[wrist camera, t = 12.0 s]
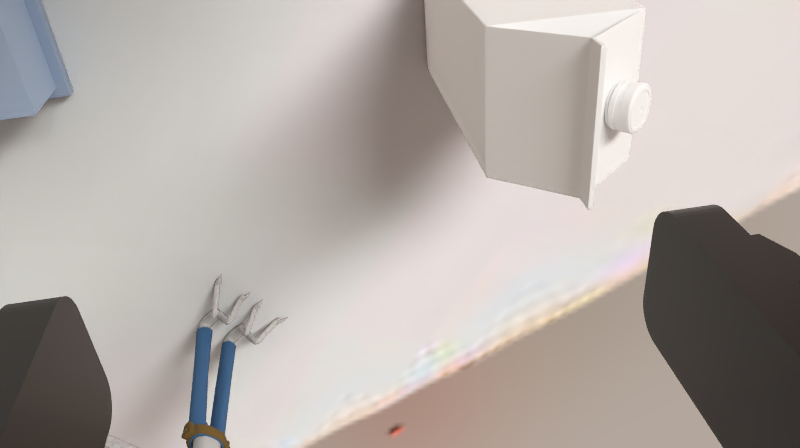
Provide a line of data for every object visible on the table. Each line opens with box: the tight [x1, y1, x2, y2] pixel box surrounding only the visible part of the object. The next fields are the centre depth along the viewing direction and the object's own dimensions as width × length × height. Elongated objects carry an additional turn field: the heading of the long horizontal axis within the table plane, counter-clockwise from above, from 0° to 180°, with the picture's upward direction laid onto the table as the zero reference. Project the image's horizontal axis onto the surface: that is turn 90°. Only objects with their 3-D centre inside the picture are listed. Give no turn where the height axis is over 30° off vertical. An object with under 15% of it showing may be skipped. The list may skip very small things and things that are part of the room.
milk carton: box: [424, 0, 651, 210], centre depth 36 cm, size 7×7×19 cm
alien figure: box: [105, 274, 288, 448], centre depth 45 cm, size 20×5×19 cm, turn 44°
